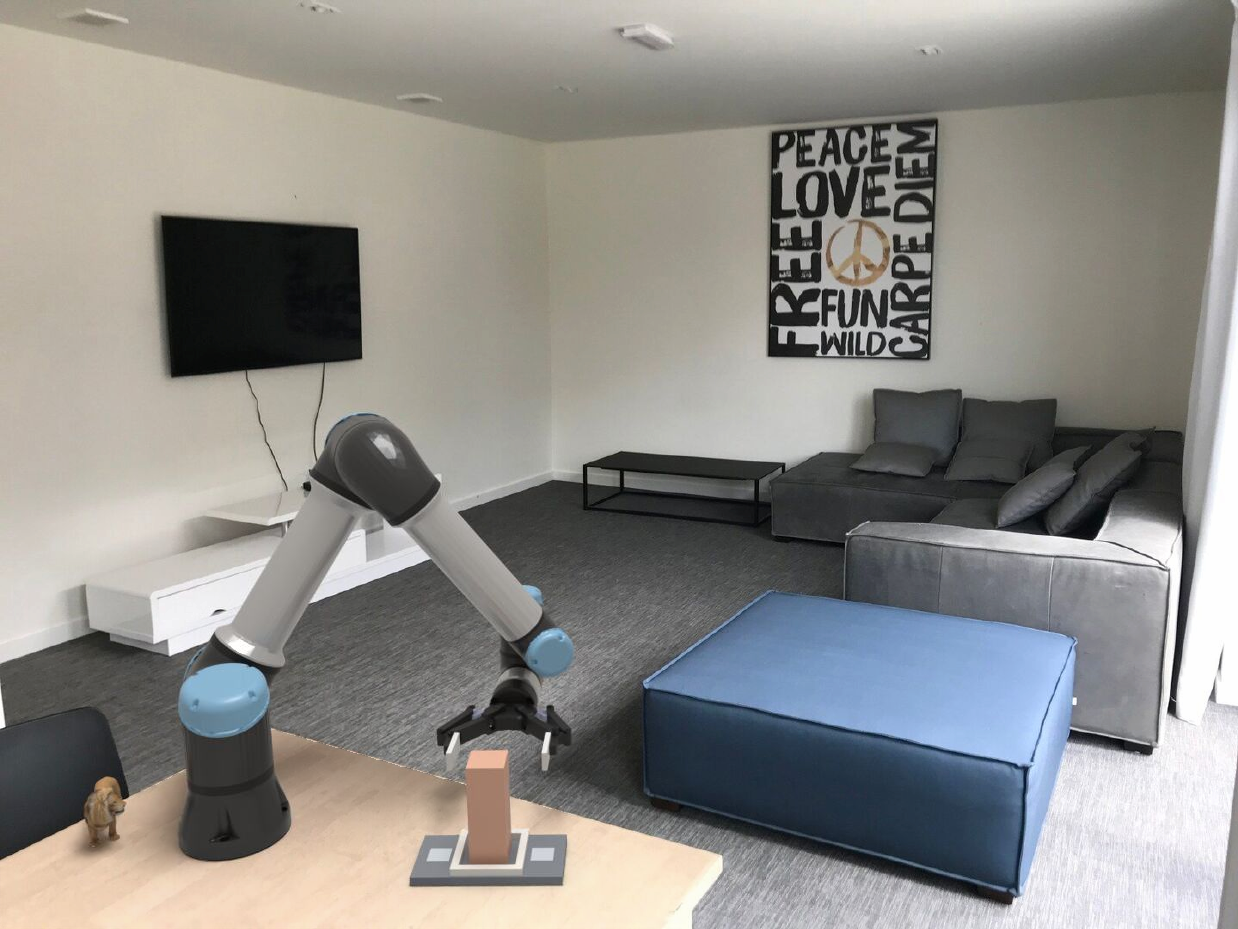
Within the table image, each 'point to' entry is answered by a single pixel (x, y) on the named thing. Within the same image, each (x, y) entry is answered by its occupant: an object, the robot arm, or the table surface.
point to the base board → (527, 865)
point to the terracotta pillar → (488, 807)
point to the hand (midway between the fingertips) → (496, 762)
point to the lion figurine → (103, 809)
